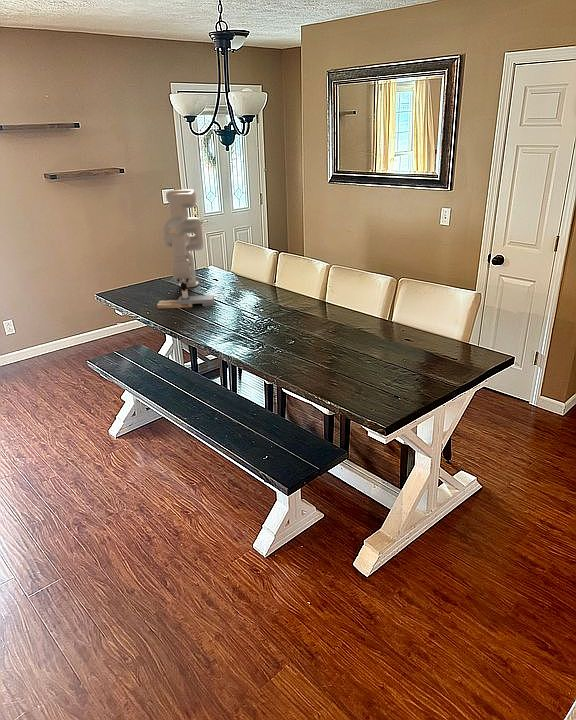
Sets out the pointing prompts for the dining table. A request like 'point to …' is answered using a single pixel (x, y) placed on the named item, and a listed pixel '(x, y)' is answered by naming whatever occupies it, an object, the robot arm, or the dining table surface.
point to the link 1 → (171, 304)
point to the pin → (185, 294)
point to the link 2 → (198, 300)
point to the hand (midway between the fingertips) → (184, 289)
